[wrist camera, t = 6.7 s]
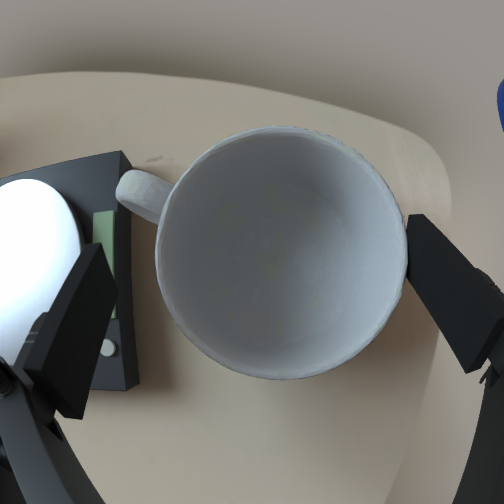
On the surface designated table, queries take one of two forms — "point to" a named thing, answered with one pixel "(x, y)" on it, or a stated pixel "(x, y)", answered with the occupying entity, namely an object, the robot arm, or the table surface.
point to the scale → (115, 247)
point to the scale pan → (32, 256)
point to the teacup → (276, 250)
